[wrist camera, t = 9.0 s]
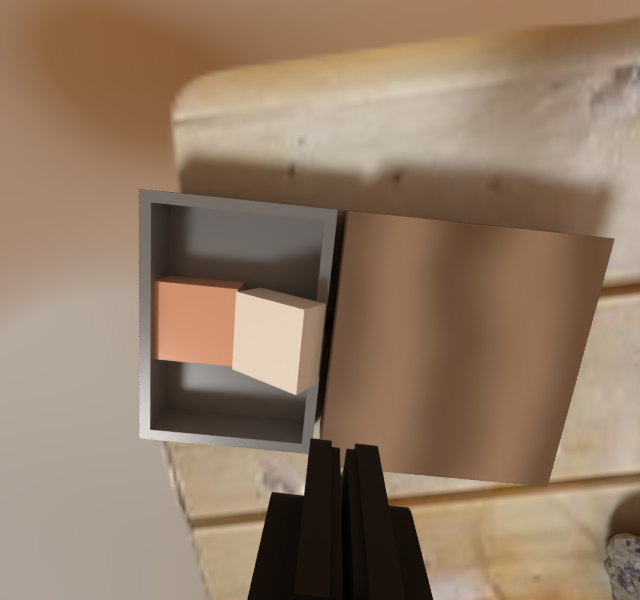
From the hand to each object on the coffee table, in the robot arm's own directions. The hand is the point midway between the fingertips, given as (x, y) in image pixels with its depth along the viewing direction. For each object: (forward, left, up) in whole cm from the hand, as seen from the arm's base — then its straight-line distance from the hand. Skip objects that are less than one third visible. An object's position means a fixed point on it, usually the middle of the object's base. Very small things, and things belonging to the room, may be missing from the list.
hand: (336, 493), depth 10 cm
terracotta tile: (+7, 0, -12) cm, 14 cm away
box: (+5, 0, -15) cm, 16 cm away
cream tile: (+2, 0, -13) cm, 13 cm away
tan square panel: (-7, 0, -15) cm, 16 cm away
